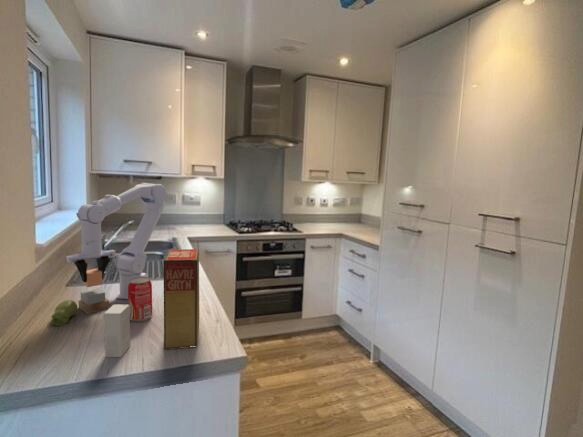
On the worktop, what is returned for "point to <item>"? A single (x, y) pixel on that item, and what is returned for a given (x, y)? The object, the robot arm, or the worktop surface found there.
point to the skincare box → (117, 330)
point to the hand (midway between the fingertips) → (92, 279)
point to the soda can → (140, 298)
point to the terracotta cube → (93, 278)
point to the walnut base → (94, 306)
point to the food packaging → (181, 298)
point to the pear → (64, 312)
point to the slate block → (92, 296)
